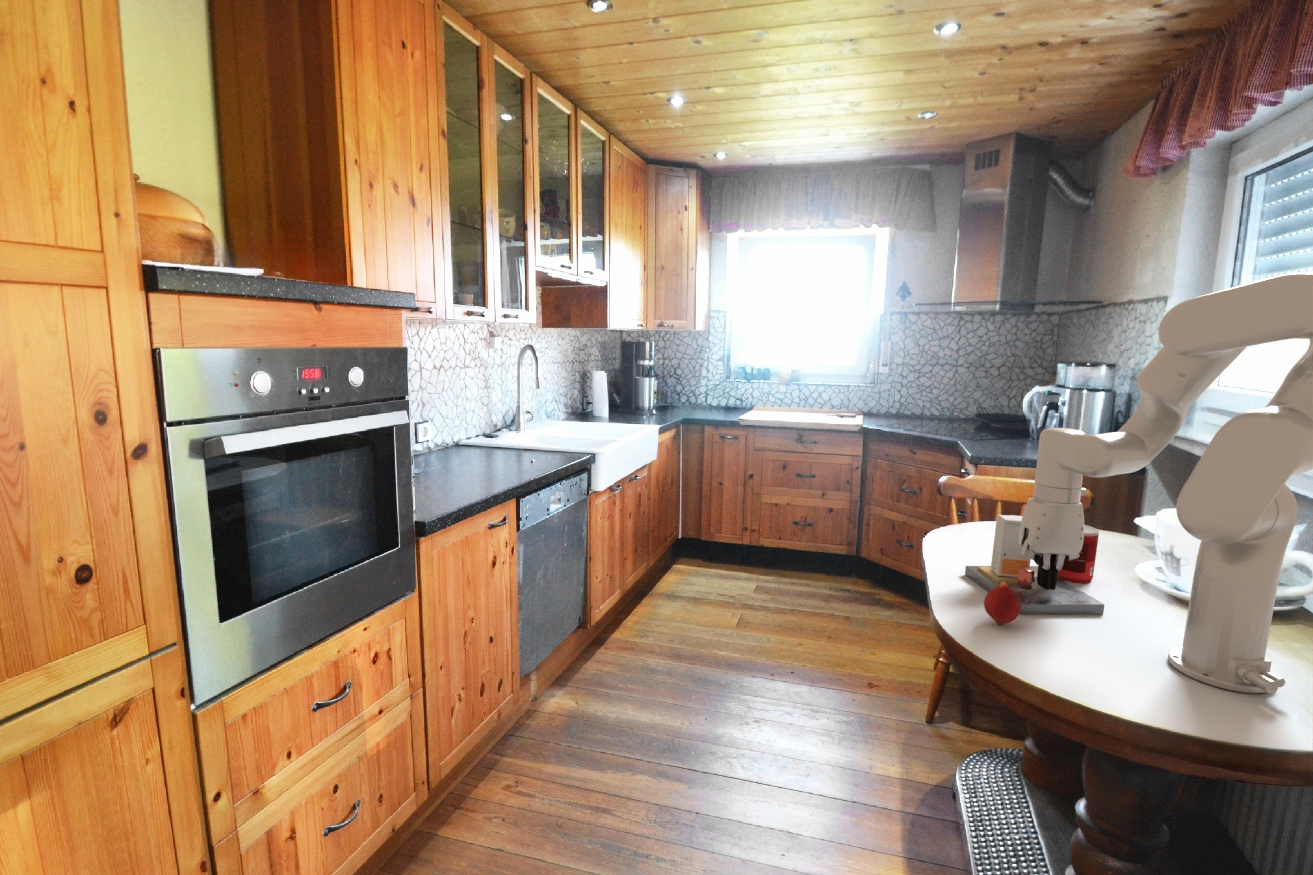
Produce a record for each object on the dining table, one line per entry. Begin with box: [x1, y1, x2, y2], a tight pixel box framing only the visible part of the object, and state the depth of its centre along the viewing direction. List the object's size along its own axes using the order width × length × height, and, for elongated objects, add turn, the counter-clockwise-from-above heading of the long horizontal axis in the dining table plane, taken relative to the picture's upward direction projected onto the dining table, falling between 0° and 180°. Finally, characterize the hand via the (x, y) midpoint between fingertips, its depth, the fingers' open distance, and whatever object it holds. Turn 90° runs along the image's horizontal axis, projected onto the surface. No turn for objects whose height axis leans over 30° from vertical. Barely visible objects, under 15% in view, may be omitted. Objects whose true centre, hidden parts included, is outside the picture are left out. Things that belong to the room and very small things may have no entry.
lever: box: [1017, 568, 1038, 590], centre depth 128 cm, size 10×3×4 cm, turn 123°
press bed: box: [964, 565, 1105, 616], centre depth 131 cm, size 20×16×10 cm
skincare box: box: [990, 514, 1032, 577], centre depth 134 cm, size 6×4×12 cm
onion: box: [983, 581, 1021, 626], centre depth 117 cm, size 6×6×8 cm
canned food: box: [1058, 524, 1100, 584], centre depth 140 cm, size 8×8×11 cm
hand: (1046, 586), depth 126 cm, fingers closed
